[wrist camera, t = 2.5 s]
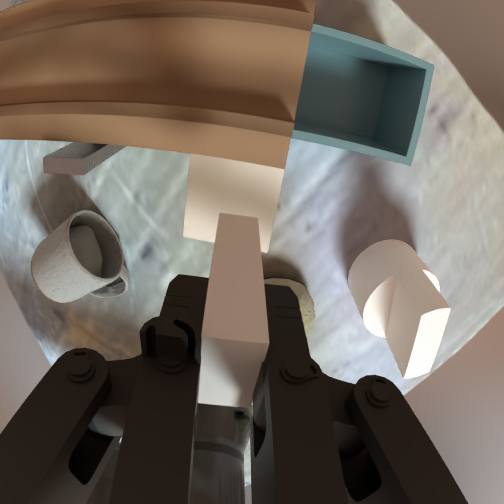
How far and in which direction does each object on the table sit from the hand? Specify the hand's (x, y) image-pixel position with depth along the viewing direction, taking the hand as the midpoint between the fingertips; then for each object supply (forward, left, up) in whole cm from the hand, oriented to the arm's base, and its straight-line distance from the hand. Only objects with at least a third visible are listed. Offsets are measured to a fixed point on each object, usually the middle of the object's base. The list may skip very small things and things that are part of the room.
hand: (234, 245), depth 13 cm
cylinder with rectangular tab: (-11, -18, -18) cm, 28 cm away
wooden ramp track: (+5, +11, -8) cm, 14 cm away
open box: (+7, -7, -18) cm, 20 cm away
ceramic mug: (-12, +14, -18) cm, 26 cm away
